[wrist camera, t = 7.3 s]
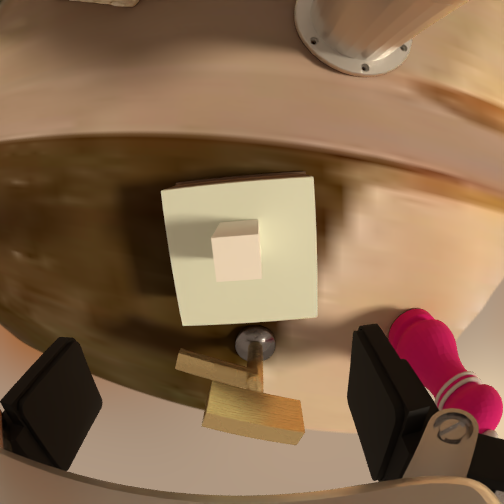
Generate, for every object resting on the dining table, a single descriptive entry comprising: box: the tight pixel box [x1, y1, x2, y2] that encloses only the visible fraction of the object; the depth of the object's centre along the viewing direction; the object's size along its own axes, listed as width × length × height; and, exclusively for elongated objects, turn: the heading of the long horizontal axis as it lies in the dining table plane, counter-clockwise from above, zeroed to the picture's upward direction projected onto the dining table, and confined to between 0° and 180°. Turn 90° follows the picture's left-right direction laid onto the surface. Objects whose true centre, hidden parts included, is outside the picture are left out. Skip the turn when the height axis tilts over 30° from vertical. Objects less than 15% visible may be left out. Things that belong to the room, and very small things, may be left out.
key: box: [175, 341, 305, 445], centre depth 28 cm, size 12×2×12 cm, turn 73°
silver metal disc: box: [235, 325, 275, 361], centre depth 35 cm, size 4×4×1 cm
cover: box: [161, 176, 318, 326], centre depth 24 cm, size 12×12×6 cm
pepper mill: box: [388, 309, 503, 438], centre depth 25 cm, size 7×7×20 cm
